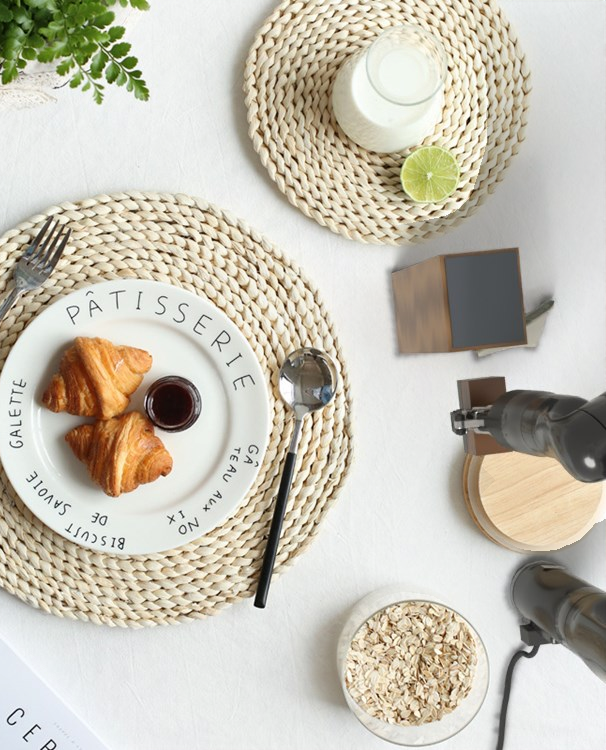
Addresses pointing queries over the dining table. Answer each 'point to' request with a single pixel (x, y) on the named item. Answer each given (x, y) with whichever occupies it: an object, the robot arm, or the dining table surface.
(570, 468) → the robot arm
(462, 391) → the brown wooden block
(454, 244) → the dining table surface
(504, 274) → the pad
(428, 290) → the stand
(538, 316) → the ceramic fragment
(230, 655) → the dining table surface
